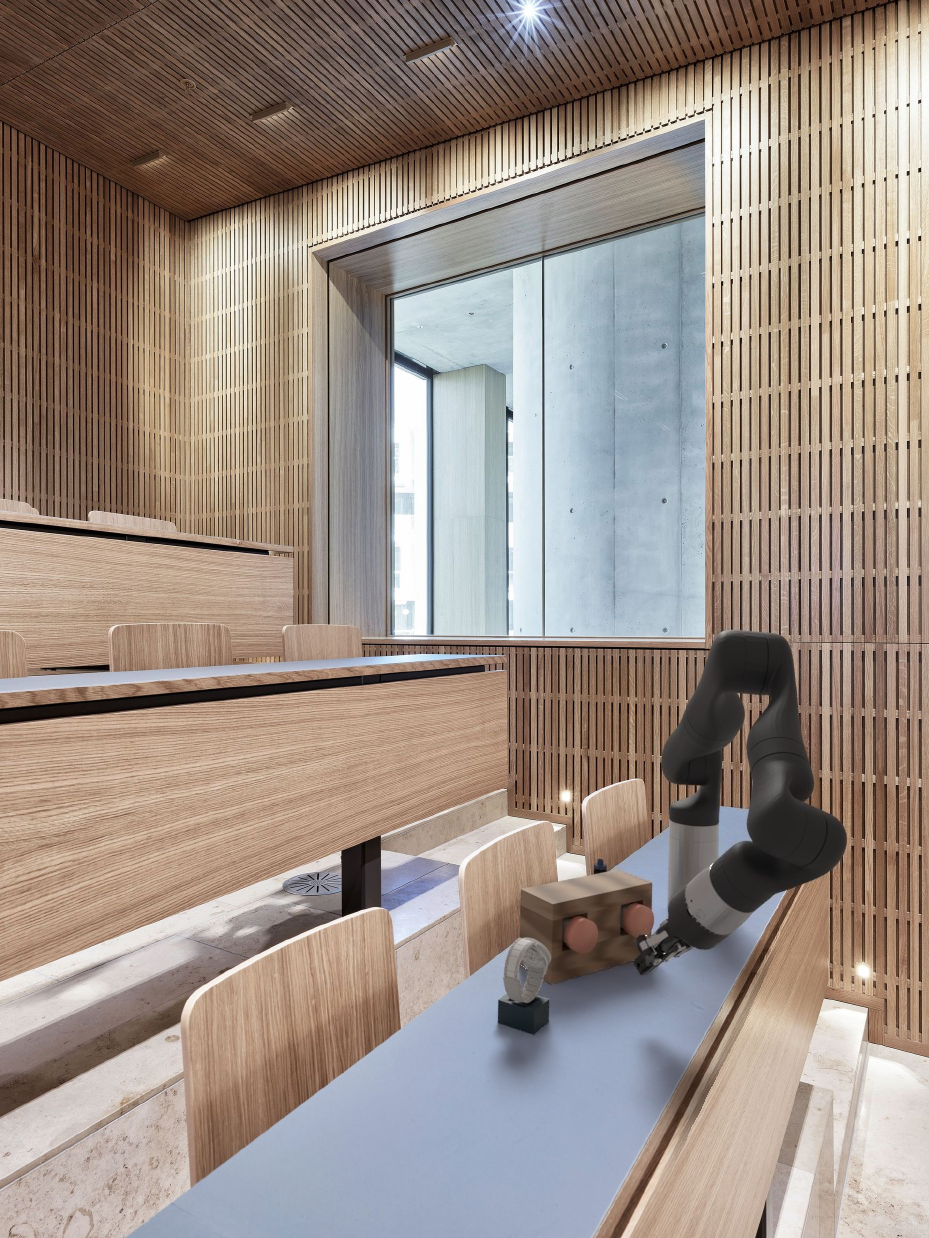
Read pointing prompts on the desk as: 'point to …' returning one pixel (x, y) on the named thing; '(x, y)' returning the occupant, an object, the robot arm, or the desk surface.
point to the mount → (591, 901)
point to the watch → (525, 987)
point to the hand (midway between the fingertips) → (640, 967)
